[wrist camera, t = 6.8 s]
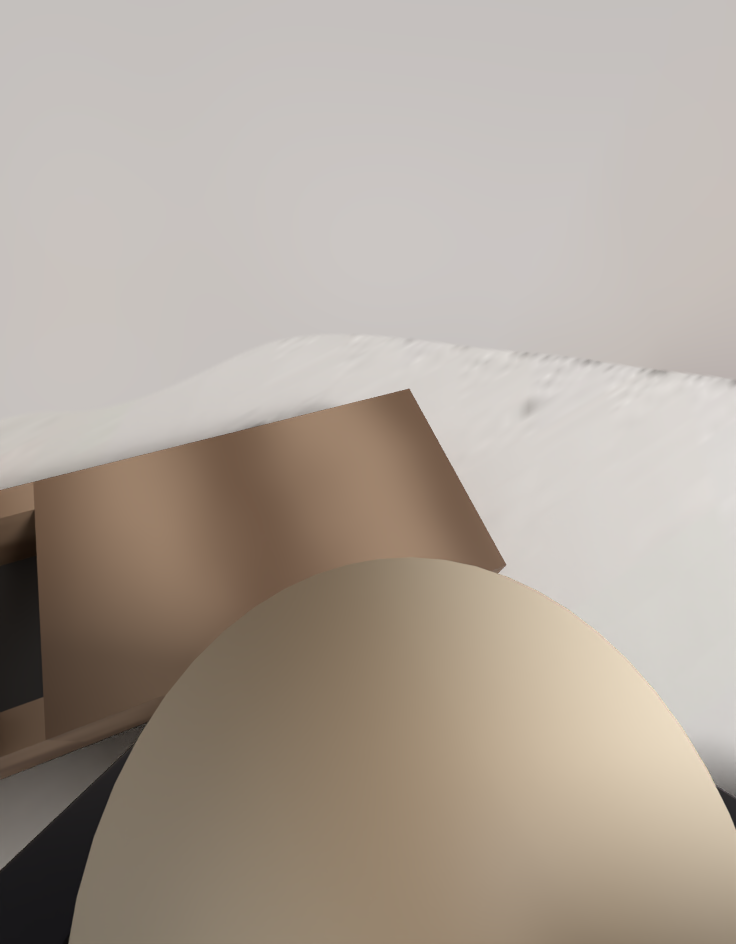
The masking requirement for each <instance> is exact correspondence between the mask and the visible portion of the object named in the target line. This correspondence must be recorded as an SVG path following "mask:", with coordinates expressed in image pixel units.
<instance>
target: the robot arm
mask: <svg viewBox="0 0 736 944" xmlns="http://www.w3.org/2000/svg"><path fill="white" fill-rule="evenodd" d="M134 745H135V744H134ZM134 745H132V746H131V747H130V748H129V749H128V750H127V751H126V752H125V753H124V754H123V755H122V756H121V757H120V758H119V759H118V760H117V761H116V762H115V763H113V764H112V765H111V766H110V767H109V768H108V769H107V770H106V771H105V772H104V773H103V774H102V775H101V776H100V777H99V778H98V779H97V780H95V781H94V782H93V783H92V784H91V785H90V786H89V787H88V788H87V789H86V790H85V791H84V792H83V793H82V794H81V795H80V796H79V797H78V798H76V799H75V800H74V801H73V802H72V803H71V804H70V805H69V806H68V807H67V808H66V809H65V810H64V811H63V812H62V813H61V814H60V815H59V816H57V817H56V818H55V819H54V820H53V821H52V822H51V823H50V824H49V825H48V826H47V827H46V828H45V829H44V830H43V831H42V832H41V833H39V834H38V835H37V836H36V837H35V838H34V839H33V840H32V841H31V842H30V843H29V844H28V845H27V846H26V847H25V848H24V849H23V850H22V851H20V852H19V853H18V854H17V855H16V856H15V857H14V858H13V859H12V860H11V861H10V862H9V863H8V864H7V865H6V866H5V867H4V868H3V869H1V870H0V944H69V938H70V932H71V927H72V921H73V916H74V910H75V905H76V899H77V895H78V891H79V888H80V884H81V881H82V877H83V874H84V870H85V867H86V863H87V860H88V856H89V852H90V849H91V845H92V842H93V838H94V836H95V833H96V830H97V828H98V825H99V823H100V820H101V818H102V815H103V813H104V810H105V807H106V805H107V802H108V800H109V797H110V795H111V792H112V789H113V787H114V784H115V782H116V780H117V778H118V776H119V774H120V773H121V771H122V769H123V767H124V765H125V763H126V761H127V759H128V757H129V755H130V753H131V751H132V749H133V747H134ZM715 786H716V785H715ZM716 788H717V790H718V792H719V794H720V796H721V798H722V800H723V802H724V804H725V806H726V808H727V810H728V812H729V814H730V816H731V819H732V821H733V824H734V827H735V829H736V798H735V797H733V796H732V795H730V794H729V793H727V792H726V791H724V790H722V789H721V788H719V787H718V786H716Z"/></svg>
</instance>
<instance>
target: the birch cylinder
mask: <svg viewBox="0 0 736 944" xmlns="http://www.w3.org/2000/svg"><path fill="white" fill-rule="evenodd" d="M69 944H736V829H735V827H734V824H733V821H732V819H731V816H730V814H729V812H728V810H727V808H726V806H725V804H724V802H723V800H722V798H721V796H720V794H719V792H718V790H717V788H716V786H715V784H714V782H713V780H712V778H711V775H710V773H709V771H708V769H707V768H706V766H705V764H704V763H703V761H702V759H701V758H700V756H699V754H698V753H697V751H696V749H695V748H694V746H693V745H692V743H691V741H690V740H689V738H688V736H687V735H686V733H685V731H684V730H683V728H682V727H681V725H680V724H679V722H678V721H677V720H676V718H675V717H674V716H673V714H672V713H671V712H670V710H669V709H668V707H667V706H666V705H665V703H664V702H663V701H662V699H661V698H660V697H659V695H658V694H657V692H656V691H655V690H654V689H653V688H652V687H651V685H650V684H649V683H648V682H647V681H646V680H645V679H644V678H643V676H642V675H641V674H640V673H639V672H638V671H637V670H636V669H635V667H634V666H633V665H632V664H631V663H630V662H629V661H628V660H627V659H626V658H625V657H624V656H623V655H622V654H621V653H620V652H619V651H618V650H617V649H616V648H615V647H614V646H612V645H611V644H610V643H609V642H608V641H607V640H606V639H605V638H604V637H603V636H602V635H601V634H600V633H599V632H597V631H596V630H595V629H593V628H592V627H591V626H589V625H588V624H587V623H585V622H584V621H583V620H581V619H580V618H579V617H578V616H576V615H575V614H574V613H572V612H571V611H570V610H568V609H567V608H565V607H563V606H562V605H560V604H558V603H557V602H555V601H553V600H552V599H550V598H548V597H547V596H545V595H544V594H542V593H540V592H539V591H537V590H534V589H532V588H530V587H528V586H526V585H524V584H522V583H519V582H517V581H515V580H513V579H511V578H509V577H506V576H503V575H500V574H497V573H494V572H491V571H488V570H485V569H482V568H479V567H476V566H472V565H467V564H462V563H457V562H452V561H447V560H440V559H427V558H415V557H408V558H387V559H376V560H370V561H365V562H359V563H353V564H348V565H345V566H341V567H338V568H335V569H332V570H329V571H325V572H322V573H319V574H316V575H314V576H311V577H309V578H307V579H305V580H303V581H300V582H298V583H296V584H294V585H292V586H289V587H287V588H285V589H283V590H282V591H280V592H278V593H277V594H275V595H274V596H272V597H270V598H269V599H267V600H265V601H264V602H262V603H260V604H259V605H257V606H256V607H254V608H253V609H251V610H250V611H249V612H247V613H246V614H245V615H244V616H242V617H241V618H240V619H239V620H237V621H236V622H235V623H233V624H232V625H231V626H230V627H228V628H227V629H226V630H225V631H223V632H222V633H221V634H220V635H219V636H218V637H217V638H216V639H215V640H214V641H213V642H212V643H211V644H210V645H209V646H208V647H207V648H206V649H205V650H204V651H203V652H202V653H201V654H200V655H199V656H198V657H197V658H196V659H195V660H194V661H193V662H192V663H191V665H190V666H189V667H188V668H187V670H186V671H185V672H184V673H183V675H182V676H181V677H180V678H179V679H178V681H177V682H176V683H175V684H174V686H173V687H172V688H171V689H170V691H169V692H168V693H167V694H166V696H165V697H164V699H163V700H162V702H161V703H160V705H159V706H158V708H157V709H156V711H155V712H154V714H153V716H152V717H151V719H150V720H149V722H148V723H147V725H146V726H145V728H144V729H143V731H142V733H141V734H140V736H139V737H138V739H137V741H136V743H135V745H134V747H133V749H132V751H131V753H130V755H129V757H128V759H127V761H126V763H125V765H124V767H123V769H122V771H121V773H120V774H119V776H118V778H117V780H116V782H115V784H114V787H113V789H112V792H111V795H110V797H109V800H108V802H107V805H106V807H105V810H104V813H103V815H102V818H101V820H100V823H99V825H98V828H97V830H96V833H95V836H94V838H93V842H92V845H91V849H90V852H89V856H88V860H87V863H86V867H85V870H84V874H83V877H82V881H81V884H80V888H79V891H78V895H77V899H76V905H75V910H74V916H73V921H72V927H71V932H70V938H69Z"/></svg>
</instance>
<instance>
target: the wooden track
mask: <svg viewBox="0 0 736 944" xmlns="http://www.w3.org/2000/svg"><path fill="white" fill-rule="evenodd" d="M408 557H415V558H427V559H440V560H447V561H452V562H457V563H462V564H467V565H472V566H476V567H479V568H482V569H485V570H488V571H491V572H494V573H497V574H498V573H499V572H500V571H501V570H502V569H503V568H504V567H505V566H506V563H505V562H504V560H503V558H502V556H501V554H500V553H499V551H498V549H497V547H496V545H495V543H494V542H493V540H492V538H491V536H490V534H489V533H488V531H487V529H486V527H485V525H484V524H483V522H482V520H481V518H480V516H479V514H478V513H477V511H476V509H475V507H474V505H473V504H472V502H471V500H470V498H469V496H468V494H467V493H466V491H465V489H464V487H463V485H462V484H461V482H460V480H459V478H458V476H457V474H456V473H455V471H454V469H453V467H452V465H451V464H450V462H449V460H448V458H447V456H446V455H445V453H444V451H443V449H442V447H441V445H440V444H439V442H438V440H437V438H436V436H435V435H434V433H433V431H432V429H431V427H430V425H429V424H428V422H427V420H426V418H425V416H424V415H423V413H422V411H421V409H420V407H419V405H418V404H417V402H416V400H415V398H414V396H413V395H412V393H411V391H410V389H406V390H402V391H398V392H394V393H390V394H386V395H382V396H378V397H374V398H370V399H366V400H362V401H358V402H354V403H350V404H346V405H342V406H338V407H334V408H330V409H326V410H321V411H317V412H313V413H309V414H305V415H301V416H297V417H293V418H289V419H285V420H281V421H277V422H273V423H269V424H265V425H261V426H257V427H253V428H249V429H245V430H241V431H237V432H233V433H229V434H225V435H221V436H217V437H213V438H209V439H205V440H201V441H196V442H192V443H188V444H184V445H180V446H176V447H172V448H168V449H164V450H160V451H156V452H152V453H148V454H144V455H140V456H136V457H132V458H128V459H124V460H120V461H116V462H112V463H108V464H104V465H100V466H96V467H92V468H88V469H84V470H80V471H76V472H71V473H67V474H63V475H59V476H55V477H51V478H47V479H43V480H39V481H35V482H31V483H27V484H23V485H19V486H15V487H11V488H7V489H3V490H0V780H1V779H4V778H6V777H9V776H11V775H14V774H16V773H19V772H21V771H24V770H27V769H29V768H32V767H34V766H37V765H39V764H42V763H44V762H47V761H50V760H52V759H55V758H57V757H60V756H62V755H65V754H67V753H70V752H73V751H75V750H78V749H80V748H83V747H85V746H88V745H90V744H93V743H96V742H98V741H101V740H103V739H106V738H108V737H111V736H113V735H116V734H119V733H121V732H124V731H126V730H129V729H131V728H134V727H136V726H139V725H142V724H144V723H147V722H149V720H150V719H151V717H152V716H153V714H154V712H155V711H156V709H157V708H158V706H159V705H160V703H161V702H162V700H163V699H164V697H165V696H166V694H167V693H168V692H169V691H170V689H171V688H172V687H173V686H174V684H175V683H176V682H177V681H178V679H179V678H180V677H181V676H182V675H183V673H184V672H185V671H186V670H187V668H188V667H189V666H190V665H191V663H192V662H193V661H194V660H195V659H196V658H197V657H198V656H199V655H200V654H201V653H202V652H203V651H204V650H205V649H206V648H207V647H208V646H209V645H210V644H211V643H212V642H213V641H214V640H215V639H216V638H217V637H218V636H219V635H220V634H221V633H222V632H223V631H225V630H226V629H227V628H228V627H230V626H231V625H232V624H233V623H235V622H236V621H237V620H239V619H240V618H241V617H242V616H244V615H245V614H246V613H247V612H249V611H250V610H251V609H253V608H254V607H256V606H257V605H259V604H260V603H262V602H264V601H265V600H267V599H269V598H270V597H272V596H274V595H275V594H277V593H278V592H280V591H282V590H283V589H285V588H287V587H289V586H292V585H294V584H296V583H298V582H300V581H303V580H305V579H307V578H309V577H311V576H314V575H316V574H319V573H322V572H325V571H329V570H332V569H335V568H338V567H341V566H345V565H348V564H353V563H359V562H365V561H370V560H376V559H387V558H408Z"/></svg>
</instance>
